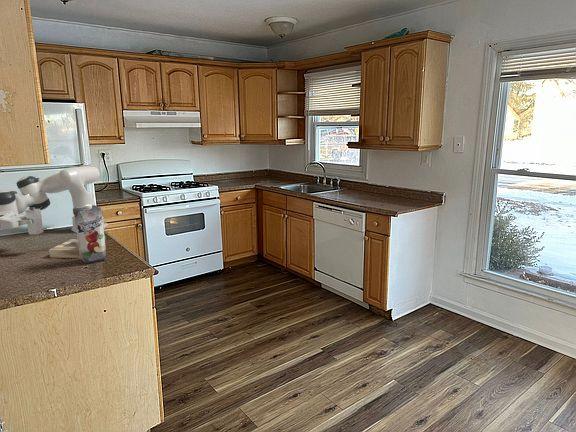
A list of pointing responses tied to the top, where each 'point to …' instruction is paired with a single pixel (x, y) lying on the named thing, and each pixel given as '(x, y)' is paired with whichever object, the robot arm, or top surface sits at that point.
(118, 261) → the top surface
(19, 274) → the top surface
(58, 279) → the top surface
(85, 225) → the juice carton
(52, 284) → the top surface
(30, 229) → the square capped bottle
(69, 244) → the birch stand
